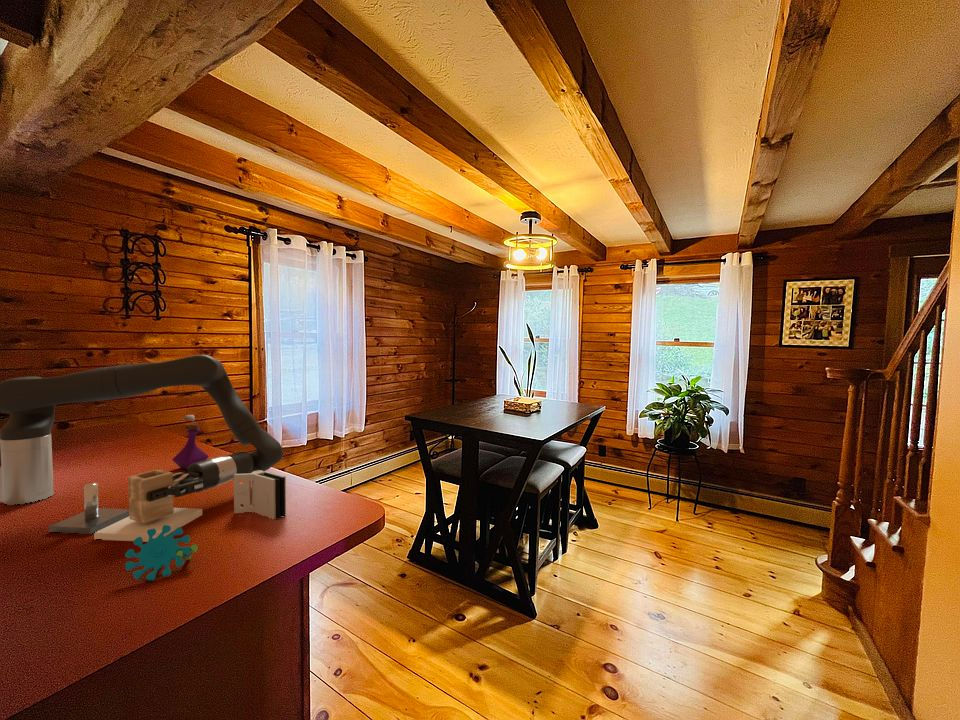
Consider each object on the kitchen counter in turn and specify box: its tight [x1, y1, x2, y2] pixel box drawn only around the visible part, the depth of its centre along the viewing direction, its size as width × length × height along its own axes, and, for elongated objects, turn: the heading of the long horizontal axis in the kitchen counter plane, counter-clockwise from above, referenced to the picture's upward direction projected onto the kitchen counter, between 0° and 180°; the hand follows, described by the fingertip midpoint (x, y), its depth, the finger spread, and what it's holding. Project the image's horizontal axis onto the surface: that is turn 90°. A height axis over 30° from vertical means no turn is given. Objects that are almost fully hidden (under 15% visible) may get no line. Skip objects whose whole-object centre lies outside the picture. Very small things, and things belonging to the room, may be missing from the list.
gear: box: [124, 525, 199, 582], centre depth 79 cm, size 11×6×10 cm
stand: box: [48, 482, 129, 535], centre depth 97 cm, size 10×10×10 cm
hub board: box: [93, 507, 203, 543], centre depth 96 cm, size 14×14×8 cm
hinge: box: [233, 470, 287, 520], centre depth 104 cm, size 14×5×10 cm, turn 74°
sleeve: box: [127, 468, 174, 524], centre depth 96 cm, size 6×6×10 cm
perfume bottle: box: [171, 414, 210, 470], centre depth 139 cm, size 8×8×18 cm
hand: (139, 494), depth 94 cm, fingers closed on sleeve, 6 cm apart
